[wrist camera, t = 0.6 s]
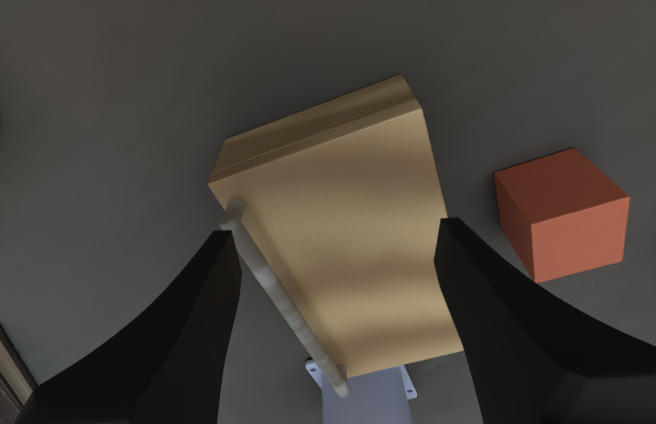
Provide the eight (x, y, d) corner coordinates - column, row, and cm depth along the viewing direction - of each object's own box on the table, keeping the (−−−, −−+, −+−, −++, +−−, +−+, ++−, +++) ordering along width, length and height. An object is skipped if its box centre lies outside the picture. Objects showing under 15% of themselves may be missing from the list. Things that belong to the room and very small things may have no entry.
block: (573, 206, 25) (622, 261, 21) (500, 228, 26) (534, 284, 22) (574, 147, 23) (631, 196, 19) (492, 172, 23) (530, 224, 19)
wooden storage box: (458, 295, 30) (489, 374, 25) (335, 328, 32) (339, 407, 27) (401, 72, 20) (434, 128, 14) (223, 139, 21) (196, 209, 16)
